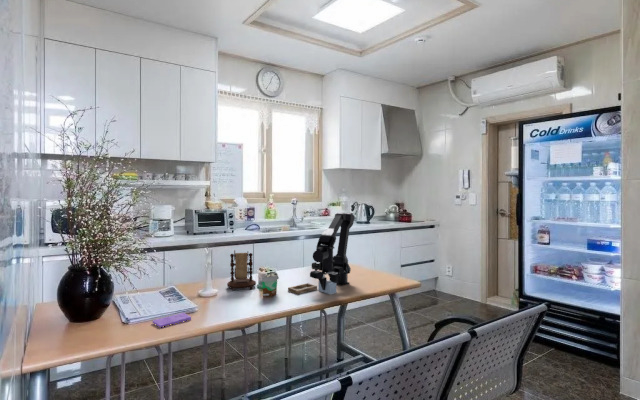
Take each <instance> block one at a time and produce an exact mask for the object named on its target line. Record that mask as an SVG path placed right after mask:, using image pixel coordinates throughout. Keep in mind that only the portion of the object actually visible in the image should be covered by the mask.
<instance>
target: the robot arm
mask: <svg viewBox="0 0 640 400" xmlns="http://www.w3.org/2000/svg"><path fill="white" fill-rule="evenodd" d="M355 219H356V217H355V214H353V213H352V212H335V213H334V217H333V219H332V220H331V223H330V225H329V226H328V228H327V229H326V230H323V231H322V232H321V234H320V236H319V238H318V242H317V243H316V244H317V245H316V246H315V247H316V248H315V249H316V250H314V251H313V253H312V260H314V262H312V263H311V269H312V271H310V273H309V278H313V279H317V280H318V283H319V282H320V284H321V287H322V290H325V285H326V280H328V279H327V277H326V276H325V275H328V276H329V280H330V281H331V282H334V283H336V285H339V286H344V285H349V284H350V282H349V281H348V278H349V277H348V274H351V270H352V269H351V267H350V265H349V260H348V259H349V258H348V256H347V250H348V249H347V248H348V241H349V235H350V234H349V233H350V229H351V228H352V227H353V225H354V221H355ZM339 230H340V232H339ZM338 232H339V237H338V245H337V251H336V254H335V255H334V249H335V244H336V242H337V241H336V240H337V233H338Z"/></svg>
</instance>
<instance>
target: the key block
mask: <svg viewBox="0 0 640 400" xmlns="http://www.w3.org/2000/svg"><path fill="white" fill-rule="evenodd" d="M318 291H319V292H322V293H325V294H328V295H333V294H337V284H336V283H334V282H331V281H330V279H326V285H325V290H322V287H321V284H320V282H319V281H318Z"/></svg>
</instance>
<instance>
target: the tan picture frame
mask: <svg viewBox="0 0 640 400" xmlns="http://www.w3.org/2000/svg"><path fill="white" fill-rule="evenodd" d="M317 290H318V285H315V284H313V283H312V284H311V283H309V282H308V283H301V284H298V285H294V286H289V287H287V291H288V292H290V293H292V294H295V295H301V294H304V293H308V292H312V291H317Z"/></svg>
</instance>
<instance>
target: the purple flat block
mask: <svg viewBox="0 0 640 400" xmlns="http://www.w3.org/2000/svg"><path fill="white" fill-rule="evenodd" d="M186 320H190V321H191V320H192V316H191V315H189V314H186V313H185V312H180V313H177V314H173V315H170V316H169V315H168V316H165V317H160V318H157V319H153V320H152V324H153V323H154V324H156V325H157V326H159V327H163V326H167V325H170V324H174V325H176V324H175V323H178V324H180V323H179V322H182V323H184V322H183V321H186ZM186 322H187V321H186ZM154 324H153V325H154ZM157 326H156V327H157ZM159 327H158V328H159ZM167 327H168V326H167ZM163 328H164V327H163Z"/></svg>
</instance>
